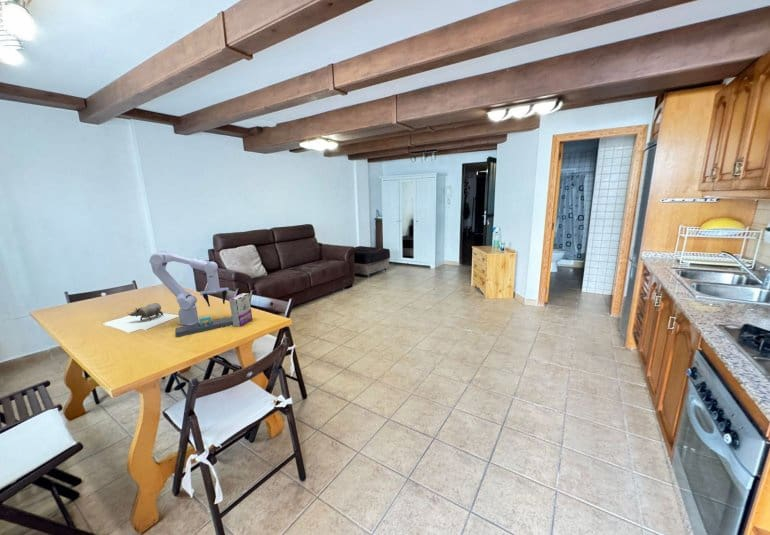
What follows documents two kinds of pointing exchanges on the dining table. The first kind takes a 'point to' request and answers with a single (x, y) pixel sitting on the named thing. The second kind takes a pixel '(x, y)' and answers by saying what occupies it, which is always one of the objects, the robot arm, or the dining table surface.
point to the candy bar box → (240, 309)
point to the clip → (205, 320)
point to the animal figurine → (147, 311)
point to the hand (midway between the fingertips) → (216, 304)
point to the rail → (203, 327)
